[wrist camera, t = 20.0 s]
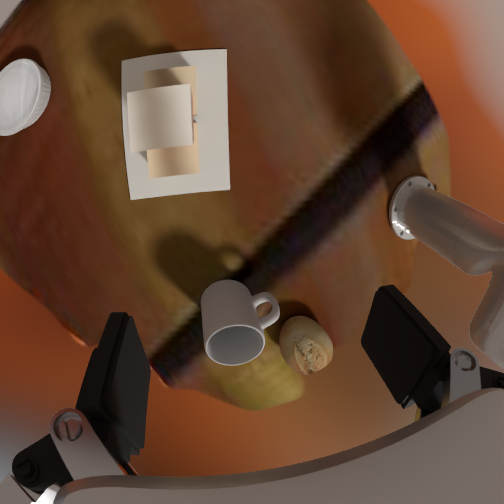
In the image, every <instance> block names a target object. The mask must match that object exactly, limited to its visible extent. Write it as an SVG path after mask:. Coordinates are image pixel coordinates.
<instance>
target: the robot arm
mask: <svg viewBox="0 0 504 504" xmlns="http://www.w3.org/2000/svg"><path fill="white" fill-rule="evenodd" d="M389 222H390V225H391V228H392V230H393V231H394V233H395V234H396V235H398V236H399V237H401V238H403V239H407V240H409V239H414V238H417V239H418V240H420V241H421V242H423V243H424V244H426V245H427V246H428V247H430V248H431V249H433V250H434V251H436V252H437V253H438V254H440V255H441V256H443V257H444V258H446V259H447V260H448V261H450V262H451V263H452V264H454V265H455V266H456V267H458V268H459V269H461V270H462V271H463V272H465V273H467V274H470V275H481V274H485V273H488V272H492V278H491V280H490V283H489V286H488V288H487V290H486V292H485V294H484V296H483V299H482V300H481V302H480V305H479V306H478V308H477V310H476V312H475V314H474V316H473V318H472V320H471V323H470V327H469V333H470V337H471V340H472V341H473V343H474V344H475V346H476V347H477V348H478V349H479V350H480V351H481V352H482V353H483V354H485V355H486V356H487V357H488V358H490V359H491V360H492V361H493V362H495V363H496V364H497V365H499V366H500V367H501V368H503V369H504V224H503V223H501V222H499V221H497V220H495V219H493V218H491V217H489V216H487V215H486V214H484V213H482V212H480V211H478V210H476V209H474V208H472V207H470V206H468V205H466V204H464V203H461V202H460V201H457V200H455V199H453V198H451V197H449V196H447V195H444V194H442V193H440V192H437V191H435V189H434V187H433V185H432V183H431V182H430V181H429V180H428V179H426V178H425V177H422V176H417V175H415V176H410V177H408V178H406V179H405V180H404V181H402V183H401V184H400V185H399V186H398V187H397V189H396V190H395V192H394V194H393V196H392V199H391V202H390V207H389ZM361 344H362V347H363V348H364V350H365V352H366V353H367V355H368V356H369V358H370V360H371V361H372V363H373V364H374V366H375V368H376V369H377V370H378V372H379V374H380V375H381V377H382V379H383V381H384V382H385V384H386V385H387V387H388V389H389V390H390V392H391V394H392V395H393V397H394V399H395V400H396V402H397V403H398V404H401V406H402V408H403V409H405V408H407V407H410V406H411V405H413V404H414V403H416V405H417V410H416V416H415V421H414V423H412V424H410V425H408V426H406V427H404V428H401V429H399V430H397V431H395V432H392V433H390V434H388V435H385V436H383V437H381V438H378V439H376V440H373V441H371V442H368V443H365V444H363V445H360V446H357V447H354V448H351V449H348V450H346V451H342V452H339V453H336V454H333V455H330V456H326V457H323V458H319V459H315V460H311V461H307V462H303V463H298V464H294V465H289V466H285V467H279V468H274V469H268V470H263V471H256V472H248V473H239V474H230V475H218V476H217V475H216V476H195V477H160V476H139V475H138V474H137V472H136V471H135V470H134V469H133V468H132V466H131V465H130V464H129V463H128V462H129V461H130V454H132V455H139V451H140V448H144V441H145V426H146V411H147V401H148V392H149V383H150V374H151V370H150V365H149V362H148V359H147V357H146V354H145V351H144V349H143V346H142V343H141V340H140V338H139V335H138V332H137V329H136V326H135V323H134V320H133V317H132V316H128V314H127V313H126V312H112V313H111V314H110V316H109V318H108V321H107V324H106V326H105V329H104V332H103V334H102V337H101V340H100V343H99V346H98V348H95V349H94V350H93V352H92V355H91V358H90V361H89V364H88V367H87V370H86V373H85V376H84V379H83V383H82V386H81V390H80V393H79V397H78V400H77V404H76V408H75V409H74V408H64V409H62V410H59V411H58V412H57V413H56V414H55V415H54V416H53V417H52V419H51V422H50V428H49V430H50V434H48V435H47V436H45V437H44V438H42V439H40V440H39V441H37V442H36V443H34V444H32V445H31V446H29V447H28V448H26V449H24V450H23V451H21V452H19V453H18V454H17V455H16V456H15V458H14V460H13V463H12V471H13V474H12V475H10V474H8V475H7V476H6V477H5V479H4V480H3V481H2V482H1V484H0V504H504V373H501V372H498V371H494V370H491V369H487V368H483V367H480V366H479V362H478V359H477V358H476V356H475V355H474V354H473V353H472V352H471V351H469V350H467V349H465V348H457V349H455V350H453V351H452V353H451V354H450V353H449V350H450V348H451V346H450V345H449V344H448V343H447V341H446V340H445V339H444V338H443V337H442V336H441V335H440V333H439V332H438V331H437V330H436V329H435V328H434V327H433V326H432V325H431V324H430V323H429V321H428V320H427V319H426V318H425V317H424V316H423V315H422V314H421V313H420V312H419V311H418V310H417V308H416V307H415V306H414V305H413V304H412V303H411V302H410V301H409V300H408V299H407V298H406V297H405V296H404V295H403V294H402V293H401V292H400V291H399V290H398V289H397V288H396V287H395V286H394V285H387V286H381V287H380V288H379V289H378V291H376V293H375V296H374V299H373V303H372V306H371V310H370V313H369V316H368V319H367V323H366V326H365V329H364V332H363V335H362V338H361Z"/></svg>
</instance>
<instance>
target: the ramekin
mask: <svg viewBox="0 0 504 504" xmlns="http://www.w3.org/2000/svg"><path fill="white" fill-rule="evenodd" d="M50 91H51V82H50V78H49V76H48V74H47V72H46V71H45V70H44V69H43V68H41V67H40V66H39V65H38V64H37V63H36V62H35V61H33V60H30V59H18V60H16V61H13V62H12V63H10V64H9V65H7V66H6V67H5V68H4V69H3V70H2V71H1V72H0V135H2V136H7V135H12V134H15V133H17V132H18V131H20V130H22V129H24V128H26V127H28V126H30V125H32V124H33V123H34V122H35V121H36V120H37V119H38V118H39V117H40V116H41V114H42V113H43V111H44V110H45V108H46V106H47V103H48V101H49V97H50Z"/></svg>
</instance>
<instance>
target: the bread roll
mask: <svg viewBox="0 0 504 504" xmlns="http://www.w3.org/2000/svg"><path fill="white" fill-rule="evenodd" d="M279 346H280V351H281V354H282V356H283V358H284V360H285V361H286V363H287V364H288V365H289V366H290V367H291V368H292V369H293V370H295V371H296V372H298V373H300V374H303V375H308V374H312V373H313V371H319V370H321V369H322V368H323V367H325V366H326V365H327V364H328V363H329V362H330V361H331V359H332V355H333V345H332V342H331V339H330V338H329V336H328V334H327V333H326V332H325V330H324V329H323V328H322V327H321V326H320V325H319V324H318V323H317V322H315V321H314V320H312V319H310V318H308V317H305V316H294V317H291V318H289V319H288V320H287V321H286V322H285V323H284V324H283V326H282V328H281V332H280V336H279Z"/></svg>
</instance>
